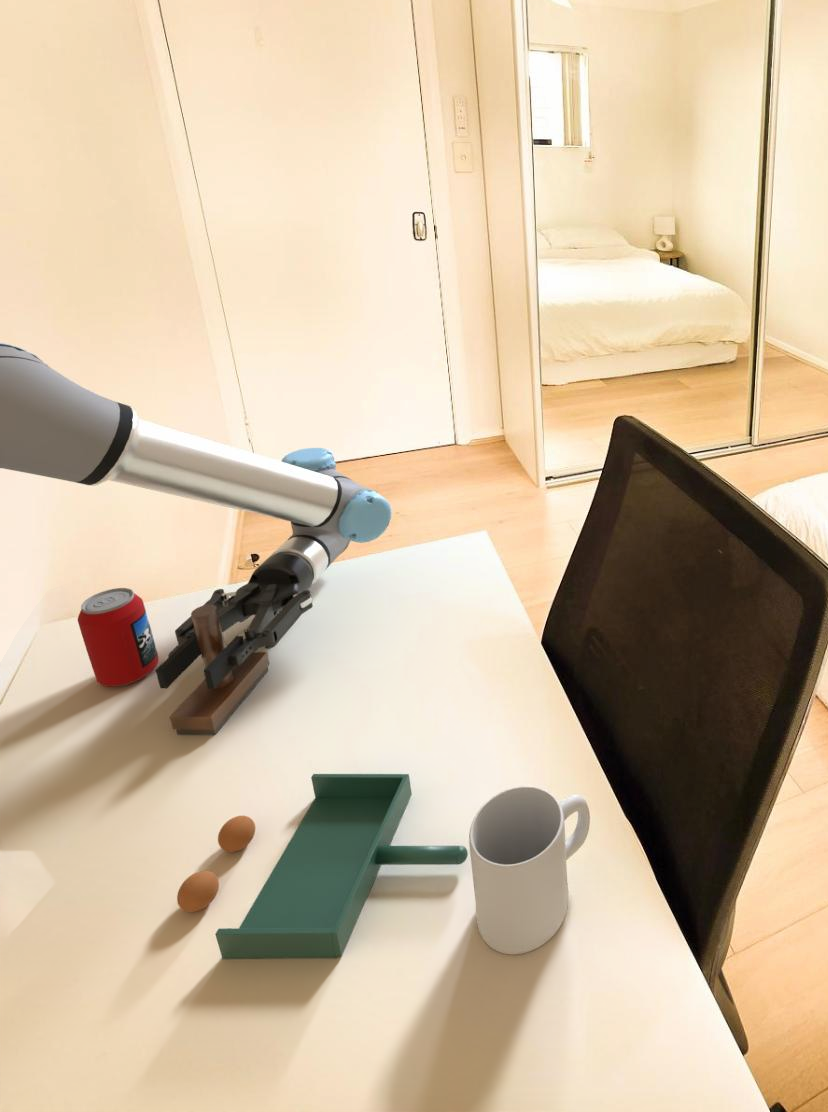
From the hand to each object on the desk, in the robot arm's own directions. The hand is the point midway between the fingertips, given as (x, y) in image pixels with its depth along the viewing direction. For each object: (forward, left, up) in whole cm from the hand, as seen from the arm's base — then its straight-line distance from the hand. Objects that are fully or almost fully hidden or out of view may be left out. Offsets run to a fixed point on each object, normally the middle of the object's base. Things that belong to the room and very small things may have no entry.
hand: (185, 679), depth 83 cm
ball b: (+14, -15, -6) cm, 22 cm away
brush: (0, +5, -8) cm, 10 cm away
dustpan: (+29, -18, -8) cm, 35 cm away
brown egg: (+14, -21, -6) cm, 26 cm away
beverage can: (-16, +10, -8) cm, 21 cm away
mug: (+46, -21, -8) cm, 51 cm away
